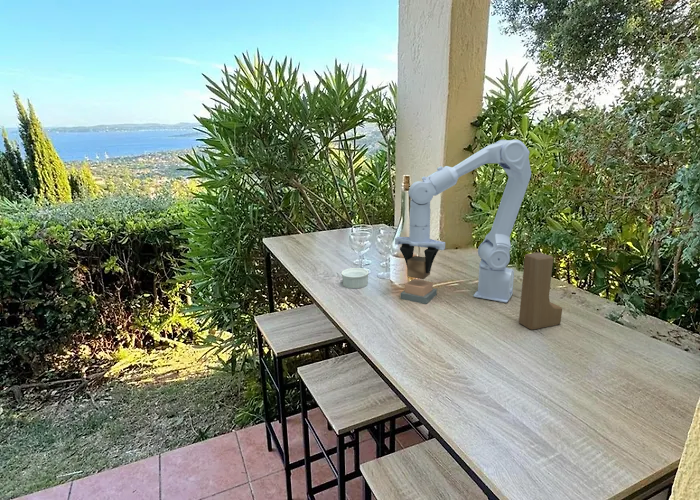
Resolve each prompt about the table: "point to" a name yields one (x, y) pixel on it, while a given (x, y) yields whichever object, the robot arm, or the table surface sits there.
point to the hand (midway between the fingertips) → (418, 270)
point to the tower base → (419, 297)
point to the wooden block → (538, 293)
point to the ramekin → (355, 277)
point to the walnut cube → (417, 267)
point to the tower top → (418, 287)
